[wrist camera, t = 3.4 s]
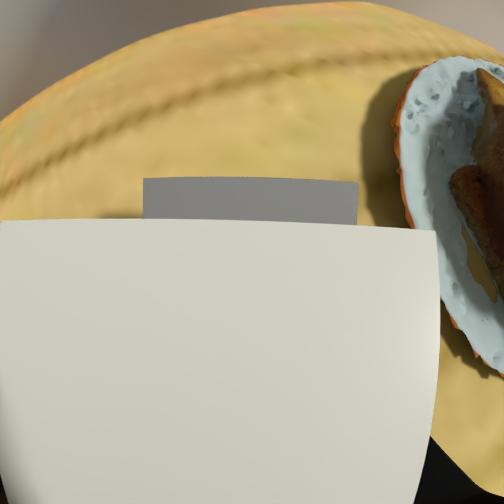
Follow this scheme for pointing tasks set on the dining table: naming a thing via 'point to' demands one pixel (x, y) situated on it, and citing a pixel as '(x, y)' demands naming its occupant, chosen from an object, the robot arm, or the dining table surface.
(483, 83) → the food on plate
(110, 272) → the box
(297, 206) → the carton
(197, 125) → the dining table surface
